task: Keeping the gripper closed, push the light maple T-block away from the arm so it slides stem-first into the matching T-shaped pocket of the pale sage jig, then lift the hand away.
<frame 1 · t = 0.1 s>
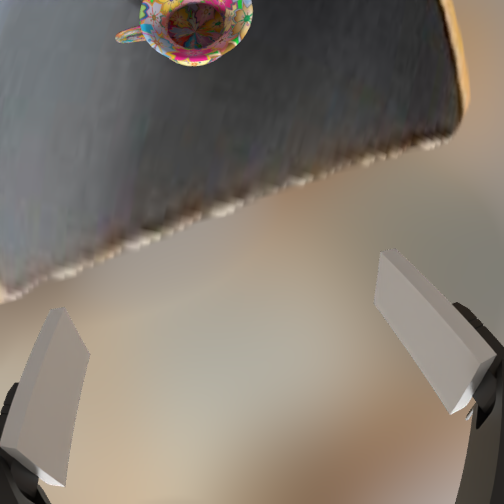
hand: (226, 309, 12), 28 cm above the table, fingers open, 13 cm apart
mug: (183, 35, 29), on the table
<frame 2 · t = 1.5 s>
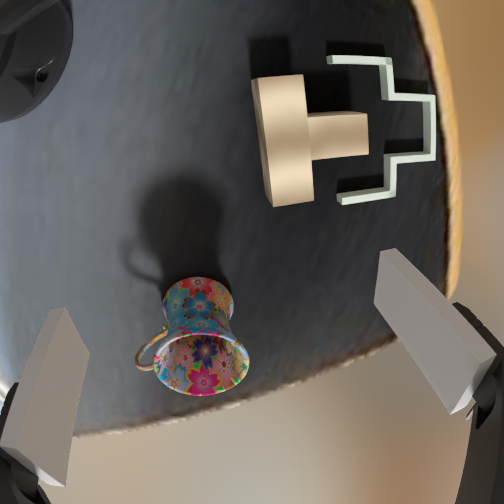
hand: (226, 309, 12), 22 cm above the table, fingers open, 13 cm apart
t block: (278, 135, 31), on the table
mug: (187, 304, 39), on the table
jig: (358, 128, 32), on the table
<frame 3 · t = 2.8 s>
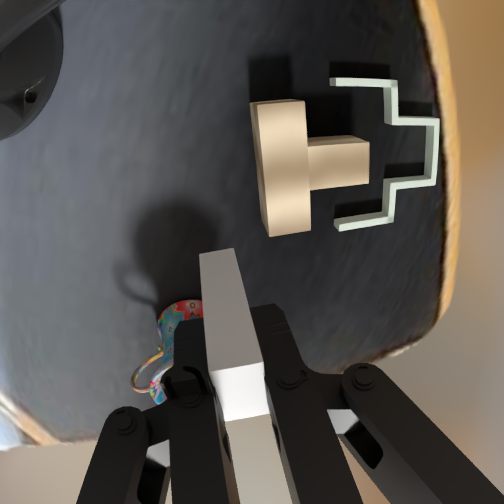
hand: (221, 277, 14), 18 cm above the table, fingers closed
t block: (276, 161, 31), on the table
mug: (181, 324, 38), on the table
jig: (359, 152, 31), on the table
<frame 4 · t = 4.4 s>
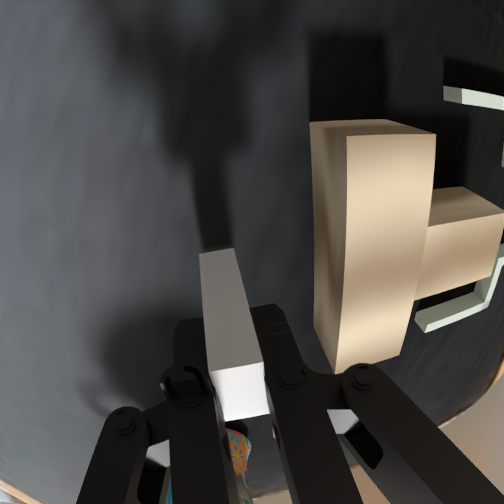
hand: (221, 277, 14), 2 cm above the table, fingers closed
t block: (349, 234, 17), on the table
mug: (186, 442, 24), on the table
jig: (467, 214, 17), on the table
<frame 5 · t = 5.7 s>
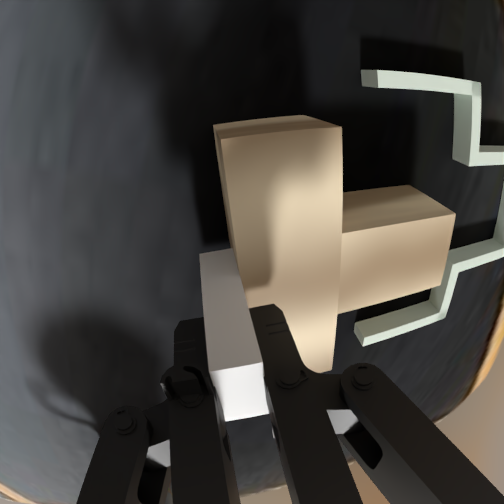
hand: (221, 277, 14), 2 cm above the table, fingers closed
t block: (270, 240, 16), on the table, touching gripper
jig: (407, 215, 17), on the table
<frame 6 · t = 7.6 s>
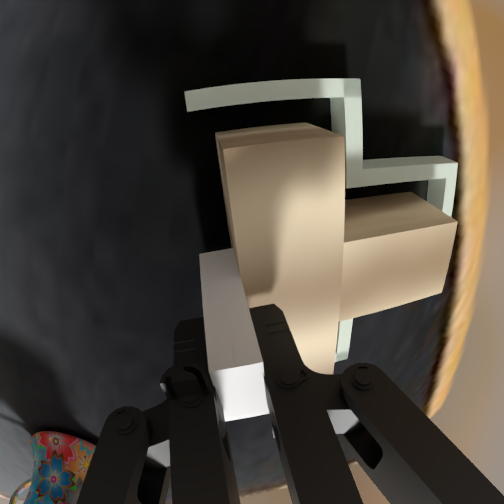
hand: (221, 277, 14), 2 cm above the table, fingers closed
t block: (272, 248, 16), on the table, touching gripper
mug: (62, 445, 23), on the table
jig: (273, 248, 16), on the table
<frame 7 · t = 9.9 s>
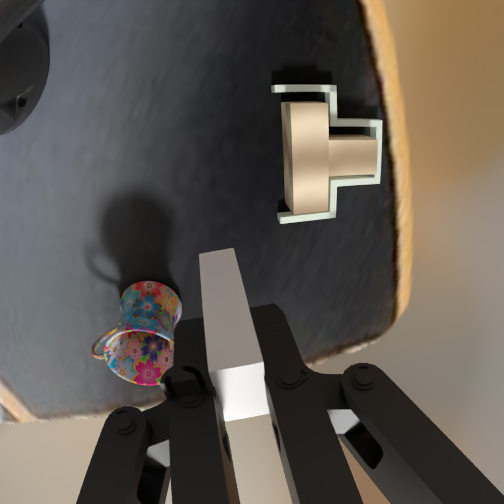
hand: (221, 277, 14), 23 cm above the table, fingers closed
t block: (300, 152, 36), on the table
mug: (142, 304, 42), on the table
jig: (300, 152, 36), on the table
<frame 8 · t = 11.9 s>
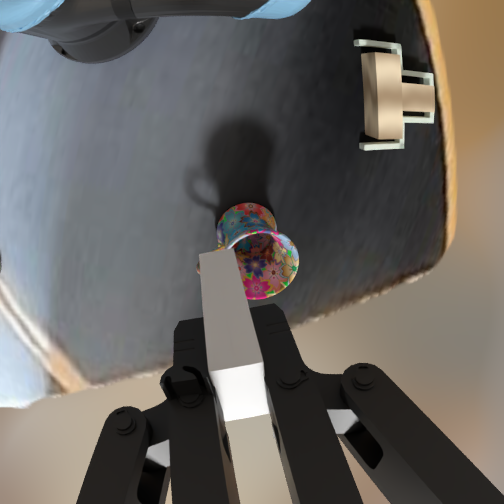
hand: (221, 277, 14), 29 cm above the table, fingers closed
t block: (375, 94, 39), on the table
mug: (236, 230, 46), on the table
jig: (375, 94, 39), on the table
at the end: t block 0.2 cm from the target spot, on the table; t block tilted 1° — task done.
